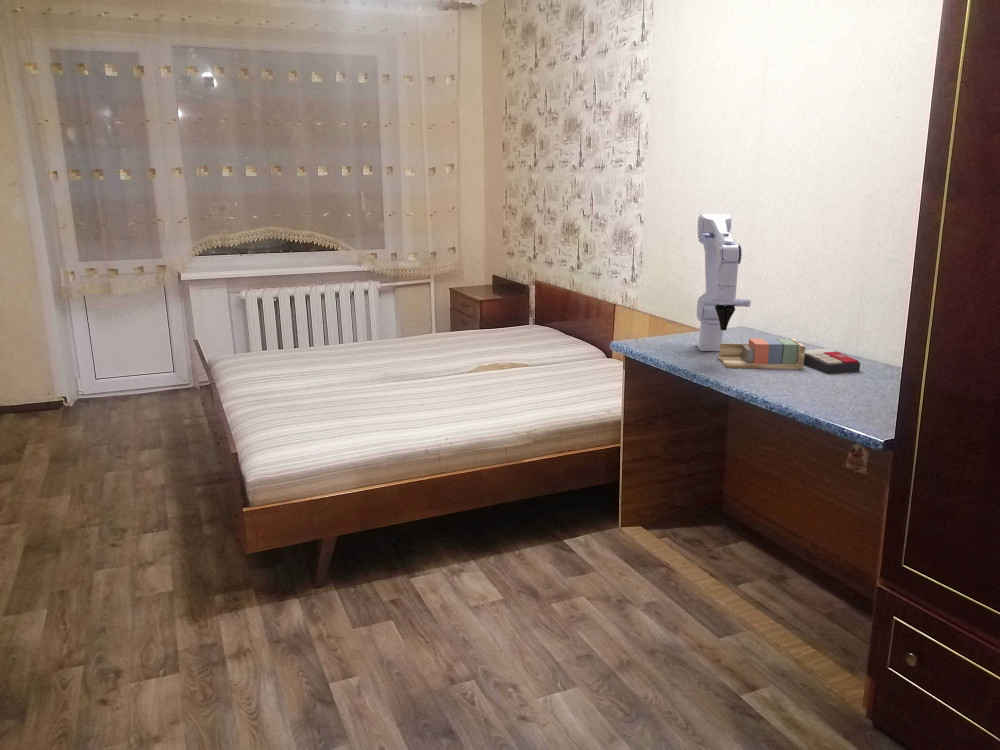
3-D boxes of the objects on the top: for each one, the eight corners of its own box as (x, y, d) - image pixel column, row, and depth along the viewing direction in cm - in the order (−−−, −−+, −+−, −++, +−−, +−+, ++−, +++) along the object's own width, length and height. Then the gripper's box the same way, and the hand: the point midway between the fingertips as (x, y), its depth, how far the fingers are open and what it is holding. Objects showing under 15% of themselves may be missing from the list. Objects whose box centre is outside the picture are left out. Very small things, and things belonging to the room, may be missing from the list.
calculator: (828, 362, 216) (797, 348, 230) (826, 376, 217) (795, 362, 231) (861, 360, 218) (829, 346, 232) (859, 374, 219) (827, 360, 233)
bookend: (741, 357, 232) (742, 344, 231) (747, 357, 232) (748, 344, 231) (746, 363, 225) (747, 350, 224) (753, 363, 225) (754, 350, 224)
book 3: (774, 357, 232) (776, 338, 230) (788, 357, 232) (789, 338, 230) (782, 364, 224) (784, 344, 223) (795, 364, 224) (797, 344, 222)
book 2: (760, 357, 232) (762, 338, 231) (773, 357, 232) (775, 338, 230) (767, 363, 225) (769, 344, 223) (781, 364, 224) (783, 344, 223)
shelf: (718, 358, 235) (720, 337, 233) (791, 359, 233) (793, 337, 231) (727, 367, 223) (728, 345, 221) (803, 369, 222) (805, 346, 220)
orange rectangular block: (747, 357, 232) (749, 338, 231) (760, 357, 232) (762, 338, 231) (754, 363, 225) (755, 344, 223) (767, 364, 224) (769, 344, 223)
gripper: (704, 287, 222) (701, 332, 226) (754, 287, 221) (750, 332, 225) (700, 283, 229) (697, 327, 233) (748, 284, 228) (745, 328, 232)
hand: (723, 329), depth 229 cm, fingers closed
